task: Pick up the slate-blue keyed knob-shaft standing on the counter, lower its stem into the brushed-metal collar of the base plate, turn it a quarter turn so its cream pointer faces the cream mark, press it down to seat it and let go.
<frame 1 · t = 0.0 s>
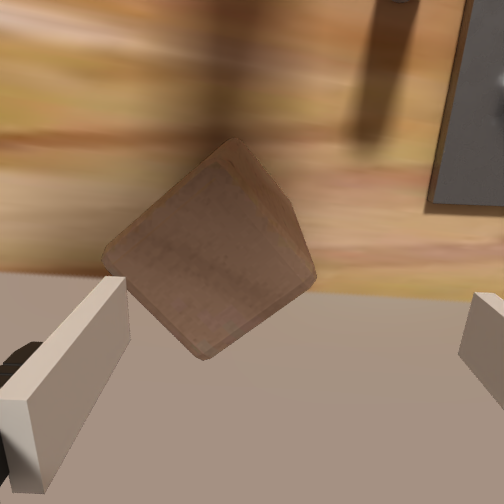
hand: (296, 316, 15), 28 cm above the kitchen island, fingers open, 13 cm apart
wooden block: (230, 200, 42), on the kitchen island
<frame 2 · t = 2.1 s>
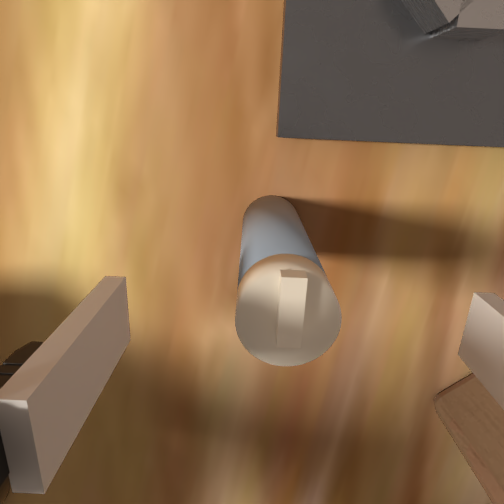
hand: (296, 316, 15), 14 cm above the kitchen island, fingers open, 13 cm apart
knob: (270, 223, 28), on the kitchen island
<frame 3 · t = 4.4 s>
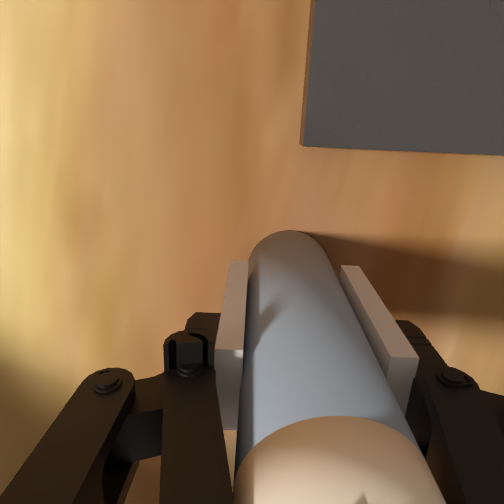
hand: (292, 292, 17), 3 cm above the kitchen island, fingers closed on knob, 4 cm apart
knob: (287, 269, 19), on the kitchen island, touching gripper
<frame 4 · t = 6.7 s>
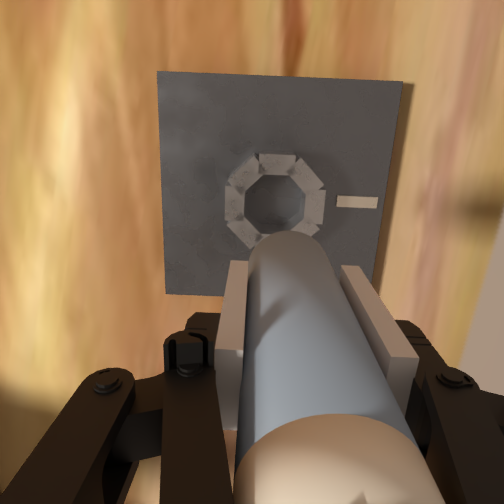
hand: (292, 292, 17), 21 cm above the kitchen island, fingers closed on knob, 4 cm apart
base plate: (272, 194, 36), on the kitchen island
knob: (287, 269, 19), point 18 cm above the kitchen island, touching gripper
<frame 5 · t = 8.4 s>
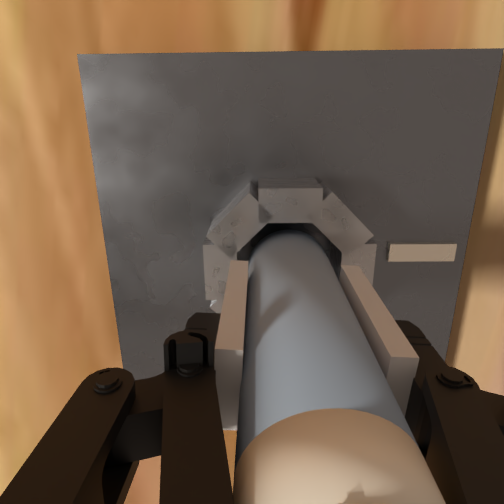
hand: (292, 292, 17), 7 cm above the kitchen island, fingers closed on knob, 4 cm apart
base plate: (283, 243, 23), on the kitchen island
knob: (287, 267, 19), point 4 cm above the kitchen island, touching gripper
when the fingers open (6 cm above the kitchen island, at t = 9.6 s): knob drops 1 cm, resting on base plate.
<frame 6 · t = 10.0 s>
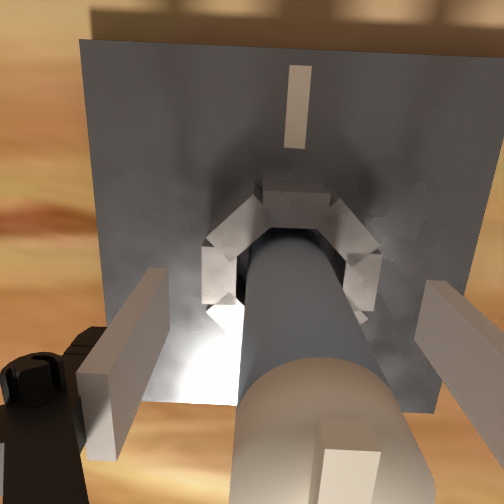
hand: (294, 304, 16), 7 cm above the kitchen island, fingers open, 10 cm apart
base plate: (283, 247, 22), on the kitchen island
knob: (285, 257, 21), point 2 cm above the kitchen island, touching base plate
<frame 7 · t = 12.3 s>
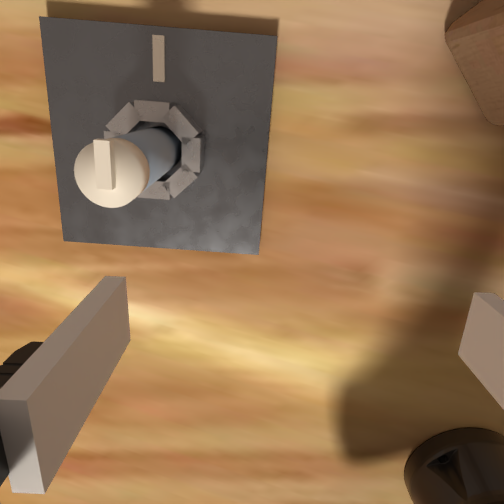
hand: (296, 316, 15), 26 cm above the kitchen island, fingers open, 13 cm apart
base plate: (163, 146, 38), on the kitchen island
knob: (160, 148, 36), point 1 cm above the kitchen island, touching base plate
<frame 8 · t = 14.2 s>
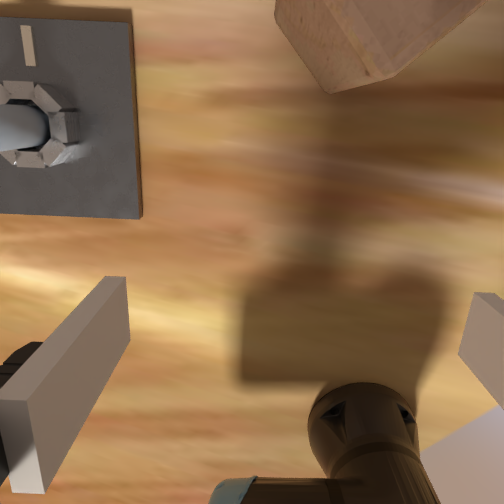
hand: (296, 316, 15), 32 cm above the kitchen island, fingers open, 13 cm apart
wooden block: (338, 24, 39), on the kitchen island
base plate: (47, 124, 43), on the kitchen island
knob: (40, 125, 41), point 1 cm above the kitchen island, touching base plate
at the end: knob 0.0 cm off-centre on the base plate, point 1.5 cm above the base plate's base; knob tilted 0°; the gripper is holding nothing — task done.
